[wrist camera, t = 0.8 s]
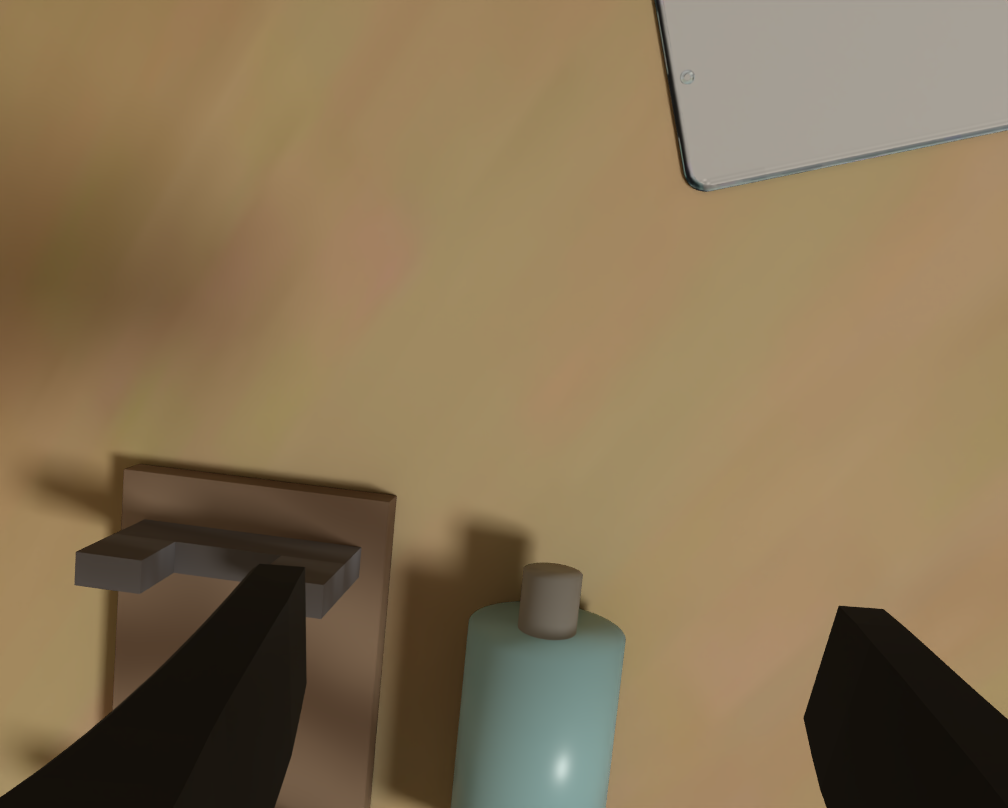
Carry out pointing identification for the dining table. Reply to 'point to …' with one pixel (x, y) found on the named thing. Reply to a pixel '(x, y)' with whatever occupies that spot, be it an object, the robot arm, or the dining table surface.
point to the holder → (217, 572)
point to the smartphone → (827, 81)
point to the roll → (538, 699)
